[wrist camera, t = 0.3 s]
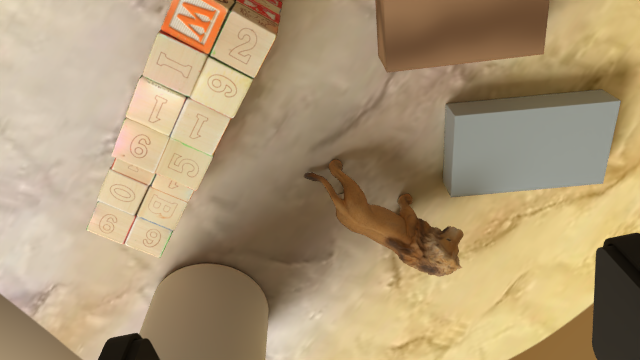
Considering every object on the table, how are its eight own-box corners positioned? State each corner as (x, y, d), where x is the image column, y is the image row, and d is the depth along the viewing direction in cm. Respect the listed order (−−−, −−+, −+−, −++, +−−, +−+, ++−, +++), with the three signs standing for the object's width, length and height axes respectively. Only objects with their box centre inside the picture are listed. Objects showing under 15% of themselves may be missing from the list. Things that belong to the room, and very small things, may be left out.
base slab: (445, 103, 45) (454, 116, 42) (601, 89, 45) (620, 100, 42) (442, 181, 49) (450, 197, 46) (586, 168, 49) (603, 183, 46)
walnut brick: (374, -20, 40) (383, -10, 36) (524, -38, 40) (552, -31, 35) (378, 55, 43) (387, 72, 39) (518, 38, 43) (543, 54, 38)
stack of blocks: (182, 201, 49) (149, 285, 38) (119, 174, 47) (66, 254, 37) (283, 0, 40) (278, 35, 30) (211, -41, 39) (178, -20, 28)
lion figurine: (452, 196, 50) (481, 250, 42) (427, 237, 52) (450, 296, 44) (313, 149, 47) (317, 199, 39) (294, 195, 49) (293, 251, 41)
